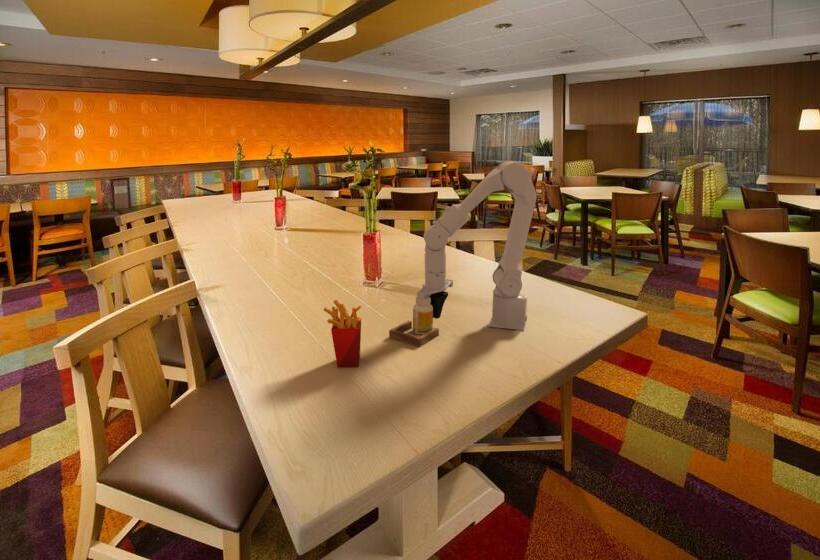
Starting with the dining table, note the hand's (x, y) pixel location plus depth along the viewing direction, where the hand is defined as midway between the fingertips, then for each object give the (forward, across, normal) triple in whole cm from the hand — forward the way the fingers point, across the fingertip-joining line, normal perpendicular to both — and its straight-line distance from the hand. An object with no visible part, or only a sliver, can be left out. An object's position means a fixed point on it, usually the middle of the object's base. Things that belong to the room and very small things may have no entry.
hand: (435, 317), depth 133 cm
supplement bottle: (+2, +6, 0) cm, 6 cm away
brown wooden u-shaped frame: (+2, +10, 0) cm, 10 cm away
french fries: (+2, +32, -4) cm, 32 cm away
